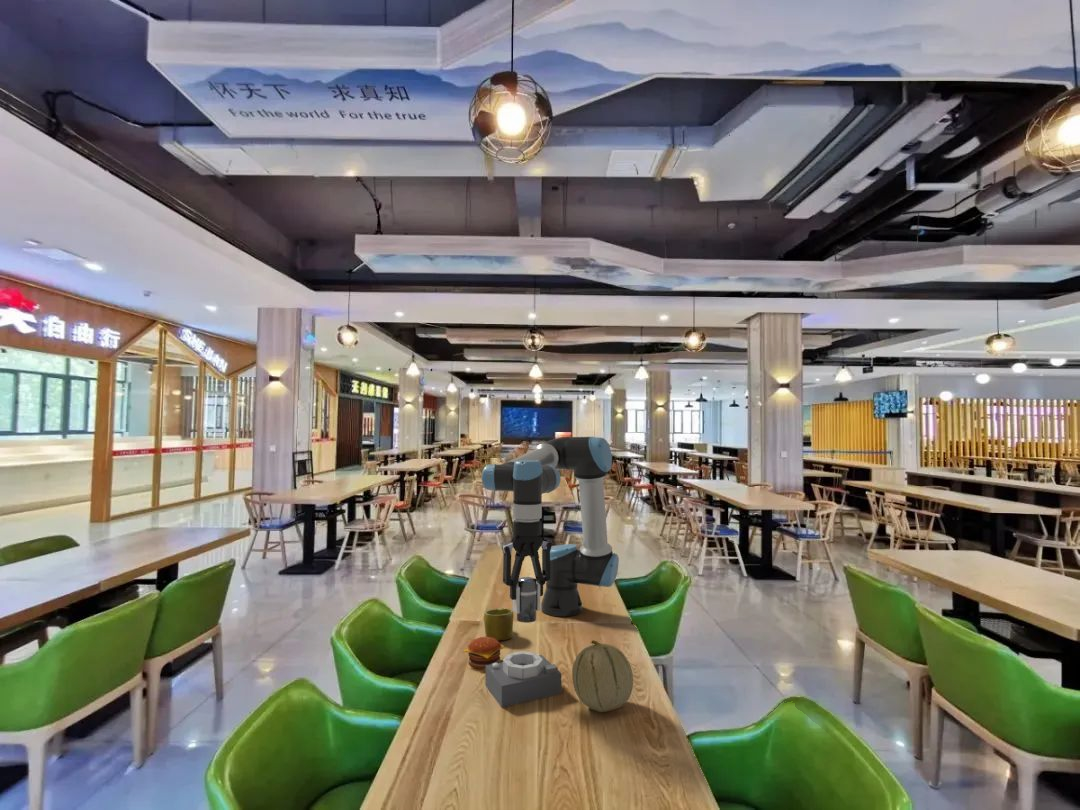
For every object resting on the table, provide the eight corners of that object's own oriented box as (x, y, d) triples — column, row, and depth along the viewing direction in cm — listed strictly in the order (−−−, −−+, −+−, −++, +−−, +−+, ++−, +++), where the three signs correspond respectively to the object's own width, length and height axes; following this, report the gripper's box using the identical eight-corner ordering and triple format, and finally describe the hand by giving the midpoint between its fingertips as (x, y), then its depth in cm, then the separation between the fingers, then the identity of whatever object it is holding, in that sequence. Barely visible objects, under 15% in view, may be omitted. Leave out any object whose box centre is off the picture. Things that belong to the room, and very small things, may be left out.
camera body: (541, 673, 143) (541, 645, 144) (561, 693, 133) (561, 663, 133) (485, 685, 137) (485, 655, 137) (501, 707, 126) (501, 675, 126)
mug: (513, 639, 162) (505, 606, 165) (483, 647, 164) (475, 614, 167) (524, 632, 173) (517, 601, 176) (496, 640, 175) (489, 609, 178)
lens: (531, 614, 140) (531, 575, 140) (539, 620, 135) (539, 580, 136) (513, 617, 138) (514, 577, 138) (521, 623, 133) (521, 582, 134)
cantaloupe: (618, 732, 116) (618, 662, 117) (560, 713, 124) (560, 647, 124) (643, 702, 128) (642, 639, 129) (589, 686, 136) (588, 627, 137)
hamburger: (489, 672, 144) (489, 648, 144) (461, 665, 149) (461, 641, 149) (507, 659, 152) (507, 636, 153) (480, 653, 157) (480, 630, 157)
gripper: (552, 515, 145) (551, 601, 144) (489, 519, 138) (488, 610, 136) (564, 519, 138) (564, 610, 137) (499, 524, 131) (498, 619, 129)
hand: (526, 610), depth 137 cm, fingers closed on lens, 5 cm apart
